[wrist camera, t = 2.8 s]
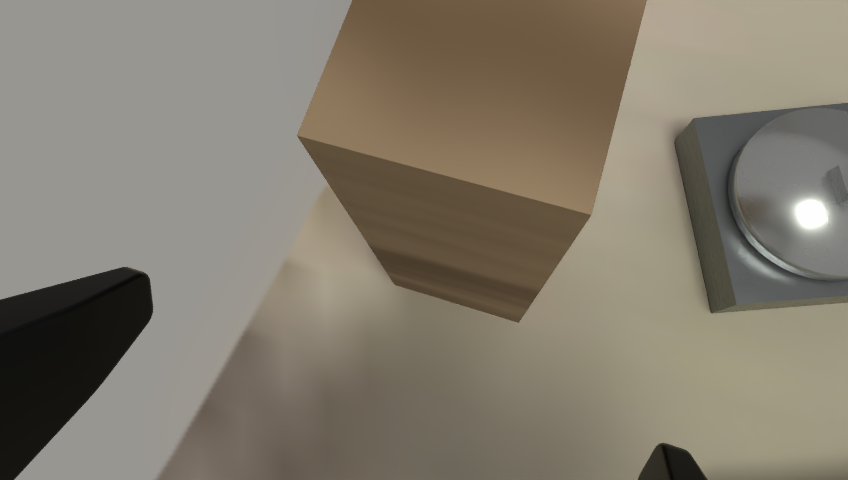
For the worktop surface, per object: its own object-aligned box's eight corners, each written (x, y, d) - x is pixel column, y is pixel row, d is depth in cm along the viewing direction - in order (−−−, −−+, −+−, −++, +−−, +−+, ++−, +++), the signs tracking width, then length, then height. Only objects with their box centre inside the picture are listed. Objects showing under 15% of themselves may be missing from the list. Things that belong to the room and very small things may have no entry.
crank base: (711, 313, 21) (736, 304, 19) (674, 142, 23) (693, 118, 21) (907, 297, 20) (954, 286, 18) (853, 124, 22) (889, 98, 20)
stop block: (518, 322, 21) (591, 215, 9) (394, 284, 22) (296, 135, 9) (551, 203, 22) (658, -44, 10) (433, 171, 23) (391, -96, 11)
